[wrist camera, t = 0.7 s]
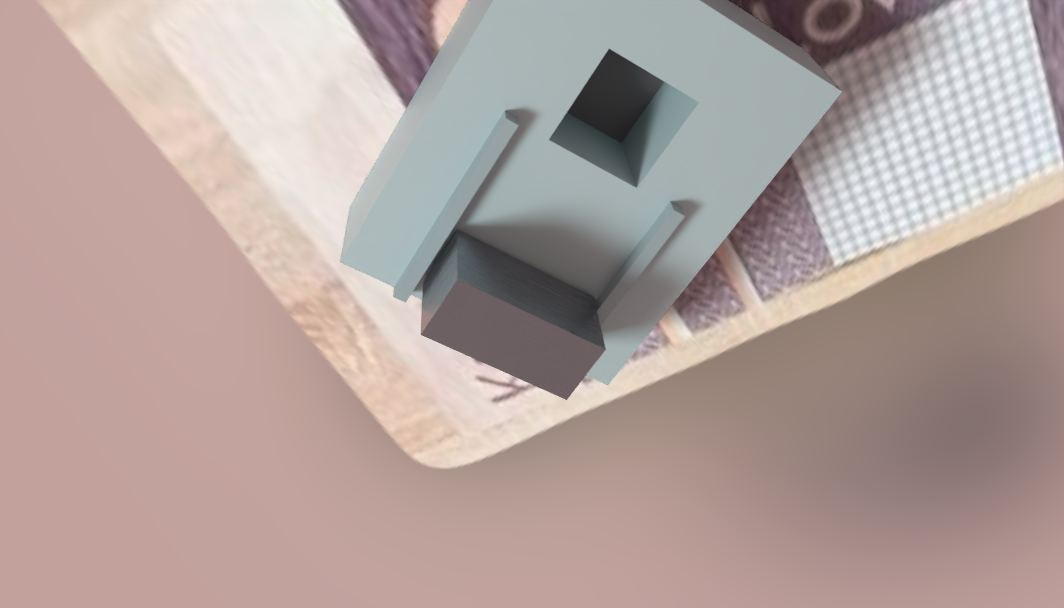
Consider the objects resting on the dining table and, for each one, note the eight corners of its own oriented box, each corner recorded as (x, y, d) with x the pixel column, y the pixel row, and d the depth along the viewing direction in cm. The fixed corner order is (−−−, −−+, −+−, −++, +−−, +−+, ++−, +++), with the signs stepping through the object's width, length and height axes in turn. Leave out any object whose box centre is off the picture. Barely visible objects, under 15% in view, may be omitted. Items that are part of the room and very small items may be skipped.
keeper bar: (456, 229, 42) (457, 279, 39) (594, 297, 45) (605, 349, 41) (422, 282, 43) (420, 334, 40) (558, 345, 46) (566, 399, 42)
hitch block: (539, -123, 40) (551, -92, 35) (805, 50, 44) (848, 99, 40) (349, 207, 47) (338, 271, 42) (595, 325, 52) (610, 395, 47)
